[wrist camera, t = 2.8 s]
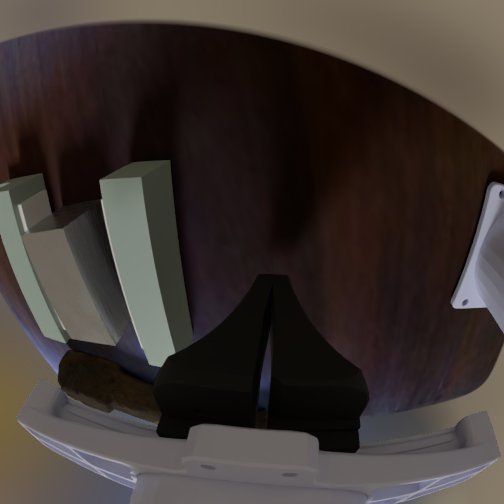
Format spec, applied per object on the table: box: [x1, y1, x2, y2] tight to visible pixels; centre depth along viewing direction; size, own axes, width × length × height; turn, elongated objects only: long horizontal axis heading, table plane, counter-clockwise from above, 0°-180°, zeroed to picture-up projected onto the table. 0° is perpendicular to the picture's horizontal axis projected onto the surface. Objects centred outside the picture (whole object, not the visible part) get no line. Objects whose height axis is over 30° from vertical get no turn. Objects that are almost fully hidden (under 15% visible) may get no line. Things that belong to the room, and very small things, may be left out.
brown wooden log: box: [58, 350, 268, 429], centre depth 20 cm, size 19×4×5 cm, turn 72°
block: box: [21, 199, 131, 346], centre depth 14 cm, size 4×7×4 cm, turn 6°
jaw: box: [99, 160, 193, 367], centre depth 14 cm, size 2×11×3 cm, turn 0°
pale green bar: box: [0, 173, 70, 343], centre depth 15 cm, size 4×11×3 cm, turn 0°
